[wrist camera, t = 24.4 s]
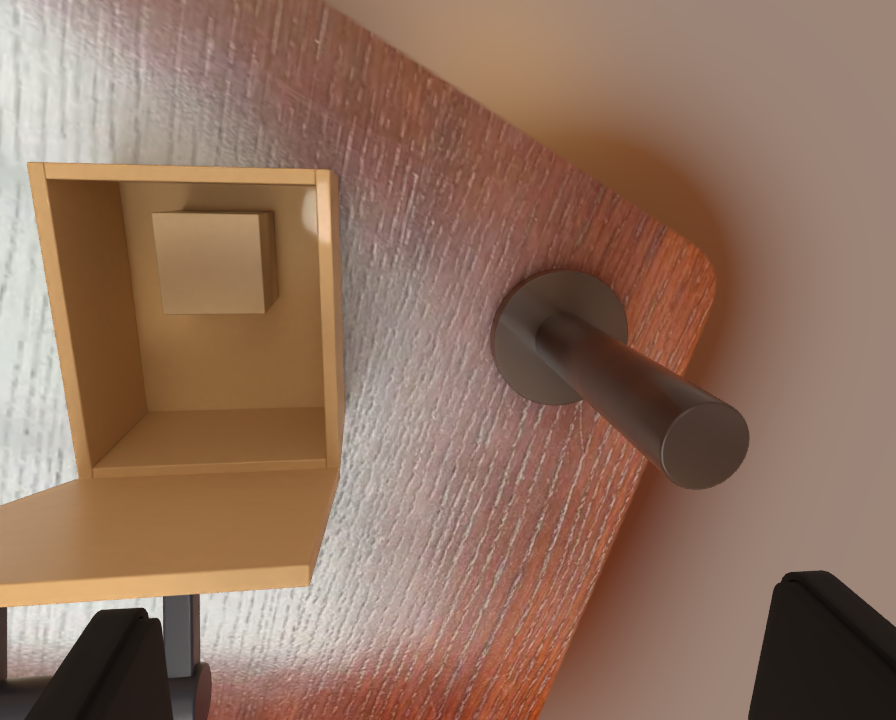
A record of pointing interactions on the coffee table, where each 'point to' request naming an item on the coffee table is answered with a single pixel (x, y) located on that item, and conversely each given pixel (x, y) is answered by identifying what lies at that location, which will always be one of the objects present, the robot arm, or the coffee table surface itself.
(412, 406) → the coffee table surface
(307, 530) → the carton flap
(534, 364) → the stand
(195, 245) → the block
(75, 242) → the carton
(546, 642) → the coffee table surface
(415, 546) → the coffee table surface
